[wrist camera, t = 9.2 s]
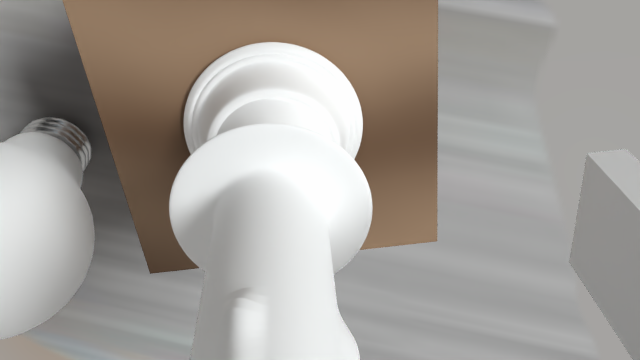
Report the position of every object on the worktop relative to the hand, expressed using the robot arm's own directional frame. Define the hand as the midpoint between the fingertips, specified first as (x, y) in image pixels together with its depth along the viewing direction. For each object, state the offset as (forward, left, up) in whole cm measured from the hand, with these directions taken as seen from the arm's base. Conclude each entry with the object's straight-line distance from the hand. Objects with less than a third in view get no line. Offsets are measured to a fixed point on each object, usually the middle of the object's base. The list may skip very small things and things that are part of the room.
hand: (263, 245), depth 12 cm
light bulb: (+4, -10, -15) cm, 18 cm away
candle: (0, 0, -7) cm, 7 cm away
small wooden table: (0, 0, -14) cm, 14 cm away
